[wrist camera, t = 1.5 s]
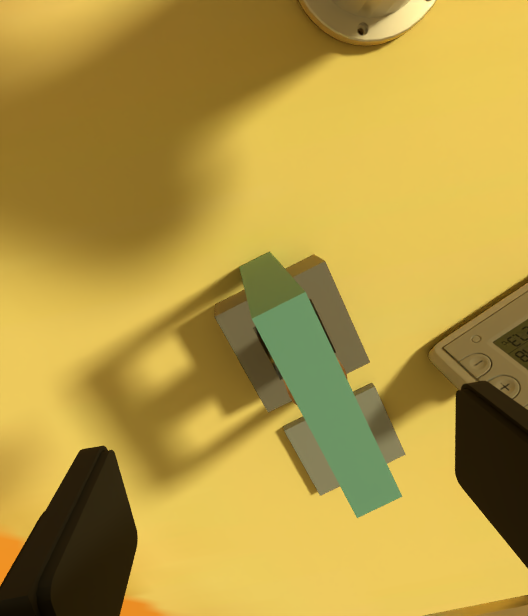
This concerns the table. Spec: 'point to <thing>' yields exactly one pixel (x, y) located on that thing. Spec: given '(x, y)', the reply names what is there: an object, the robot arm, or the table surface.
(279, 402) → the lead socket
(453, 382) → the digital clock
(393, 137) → the table surface
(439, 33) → the table surface
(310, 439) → the mat
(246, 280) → the green arch
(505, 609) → the robot arm
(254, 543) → the table surface
